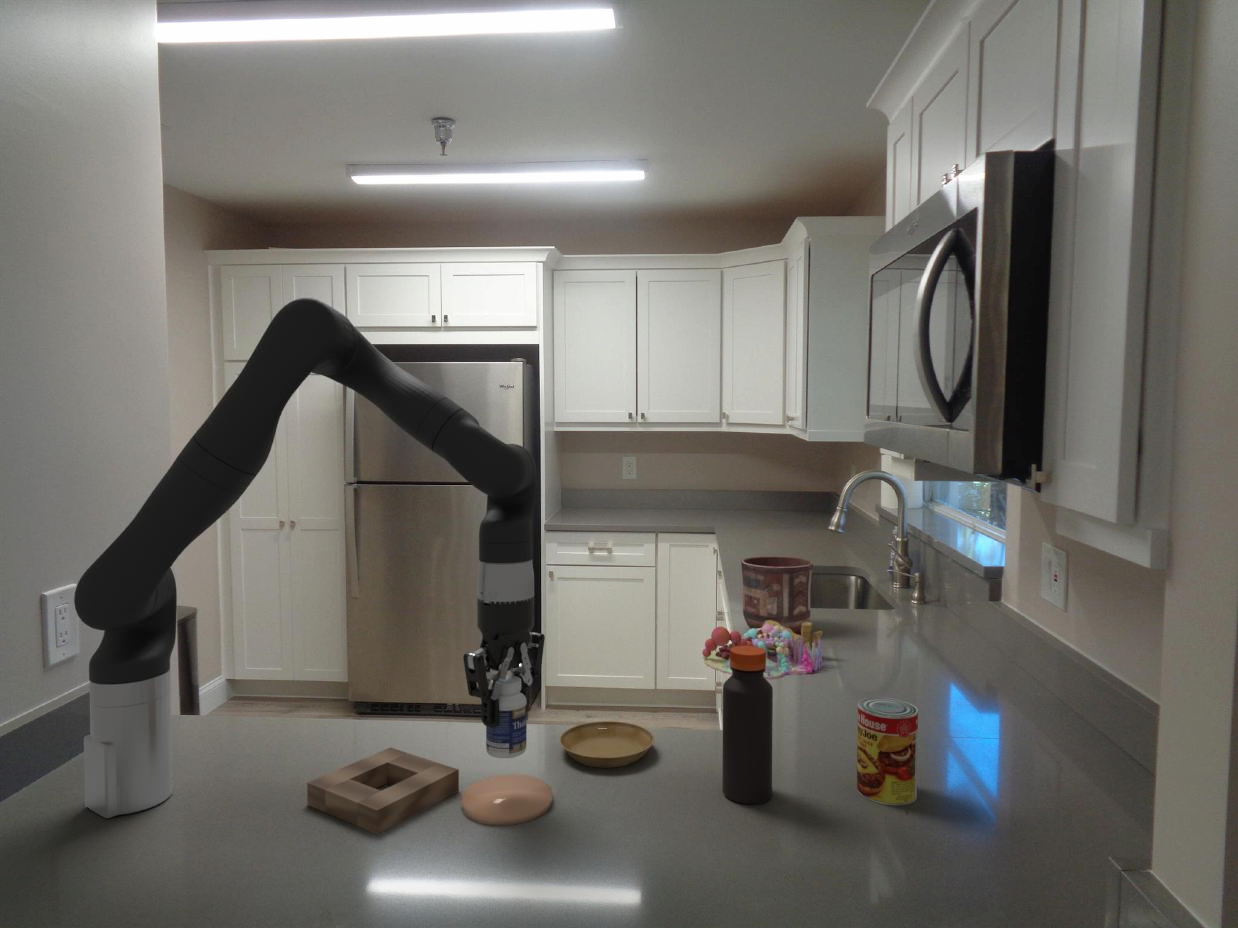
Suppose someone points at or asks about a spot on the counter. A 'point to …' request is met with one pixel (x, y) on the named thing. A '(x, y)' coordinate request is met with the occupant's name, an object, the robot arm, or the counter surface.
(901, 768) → the canned food
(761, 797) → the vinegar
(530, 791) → the salmon pink disc
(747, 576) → the pottery
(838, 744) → the counter surface
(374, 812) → the block
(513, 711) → the pill bottle
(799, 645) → the candy landscape model
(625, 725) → the plant saucer
